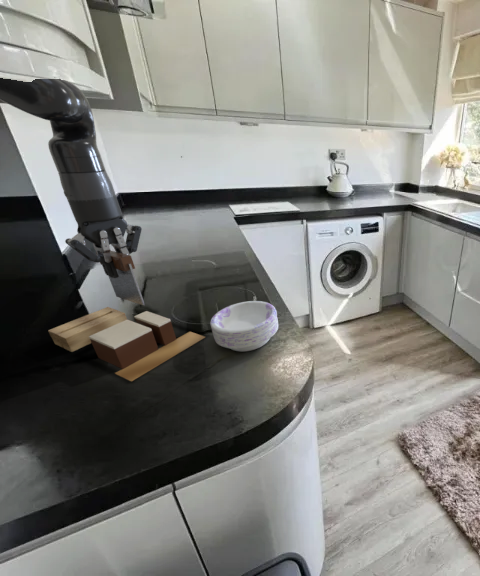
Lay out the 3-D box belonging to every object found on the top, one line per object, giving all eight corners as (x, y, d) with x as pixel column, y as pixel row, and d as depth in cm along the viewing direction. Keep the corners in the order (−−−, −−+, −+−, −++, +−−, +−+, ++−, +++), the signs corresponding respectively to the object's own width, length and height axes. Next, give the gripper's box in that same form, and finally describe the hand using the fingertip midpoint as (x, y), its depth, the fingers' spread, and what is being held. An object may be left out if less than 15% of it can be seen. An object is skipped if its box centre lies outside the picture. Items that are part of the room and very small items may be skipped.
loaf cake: (98, 358, 74) (88, 336, 71) (134, 339, 80) (127, 319, 78) (122, 369, 71) (113, 347, 68) (158, 349, 77) (151, 328, 75)
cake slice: (141, 336, 82) (134, 316, 79) (153, 330, 84) (146, 310, 82) (165, 345, 79) (158, 325, 76) (176, 339, 81) (170, 319, 78)
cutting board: (78, 358, 75) (77, 355, 75) (155, 321, 90) (154, 318, 89) (132, 385, 68) (131, 381, 67) (206, 340, 83) (205, 336, 82)
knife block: (73, 355, 76) (65, 338, 74) (56, 347, 79) (47, 330, 76) (131, 328, 87) (124, 312, 84) (114, 322, 89) (107, 306, 87)
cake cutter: (148, 303, 73) (132, 255, 68) (139, 307, 72) (122, 258, 67) (121, 294, 77) (104, 248, 72) (112, 298, 75) (94, 251, 70)
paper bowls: (218, 331, 86) (212, 305, 83) (277, 320, 92) (273, 296, 88) (214, 365, 74) (207, 337, 70) (283, 351, 79) (279, 324, 76)
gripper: (58, 203, 57) (95, 290, 65) (139, 191, 68) (162, 267, 76) (36, 199, 60) (74, 283, 67) (117, 188, 71) (142, 262, 79)
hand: (121, 274), depth 72 cm, fingers closed on cake cutter, 2 cm apart
